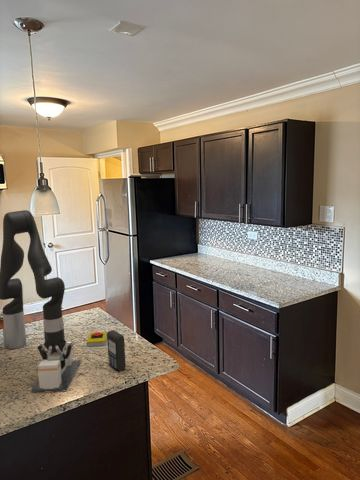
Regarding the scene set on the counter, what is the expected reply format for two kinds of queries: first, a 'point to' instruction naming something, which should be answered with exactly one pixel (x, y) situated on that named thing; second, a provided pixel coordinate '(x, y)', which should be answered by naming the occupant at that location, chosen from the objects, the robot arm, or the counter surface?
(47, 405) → the counter surface
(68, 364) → the mounted modules
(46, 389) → the rail plate
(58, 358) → the block
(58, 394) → the counter surface
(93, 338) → the emergency button
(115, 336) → the black card payment terminal
